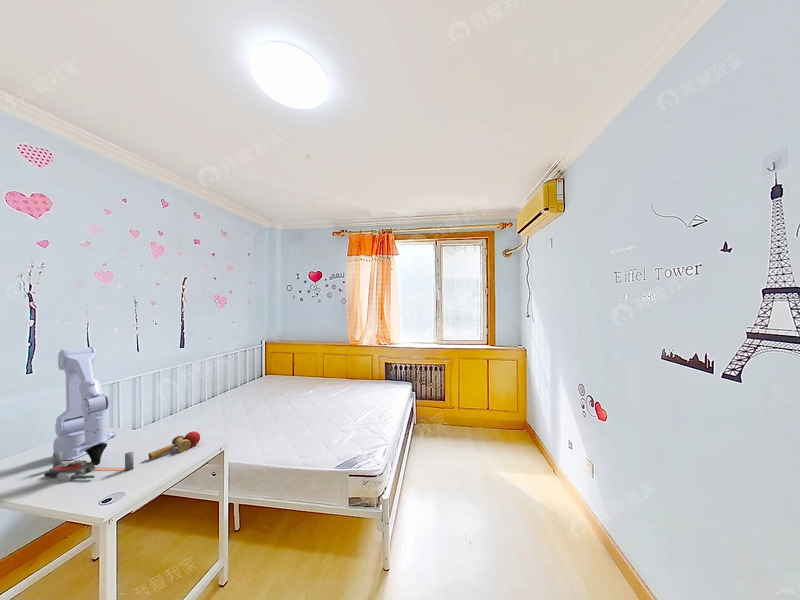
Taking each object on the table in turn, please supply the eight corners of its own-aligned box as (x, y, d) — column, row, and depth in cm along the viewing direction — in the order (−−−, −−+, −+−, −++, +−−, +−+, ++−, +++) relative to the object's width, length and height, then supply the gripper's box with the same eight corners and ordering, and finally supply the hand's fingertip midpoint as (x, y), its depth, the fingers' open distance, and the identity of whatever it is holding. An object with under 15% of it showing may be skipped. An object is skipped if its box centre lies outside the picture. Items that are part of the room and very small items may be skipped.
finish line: (50, 470, 114) (51, 454, 115) (58, 466, 117) (58, 451, 117) (129, 471, 113) (129, 454, 113) (135, 467, 115) (135, 451, 116)
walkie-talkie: (36, 482, 108) (90, 482, 106) (36, 469, 108) (90, 469, 107) (65, 468, 116) (115, 469, 115) (65, 457, 116) (115, 457, 115)
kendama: (155, 466, 119) (205, 442, 134) (151, 450, 119) (201, 428, 134) (148, 464, 123) (197, 441, 138) (144, 449, 123) (193, 427, 138)
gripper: (85, 437, 108) (85, 475, 108) (123, 421, 123) (123, 455, 123) (65, 437, 109) (65, 475, 109) (106, 421, 123) (106, 454, 123)
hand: (95, 464), depth 116 cm, fingers closed, pressing on walkie-talkie
